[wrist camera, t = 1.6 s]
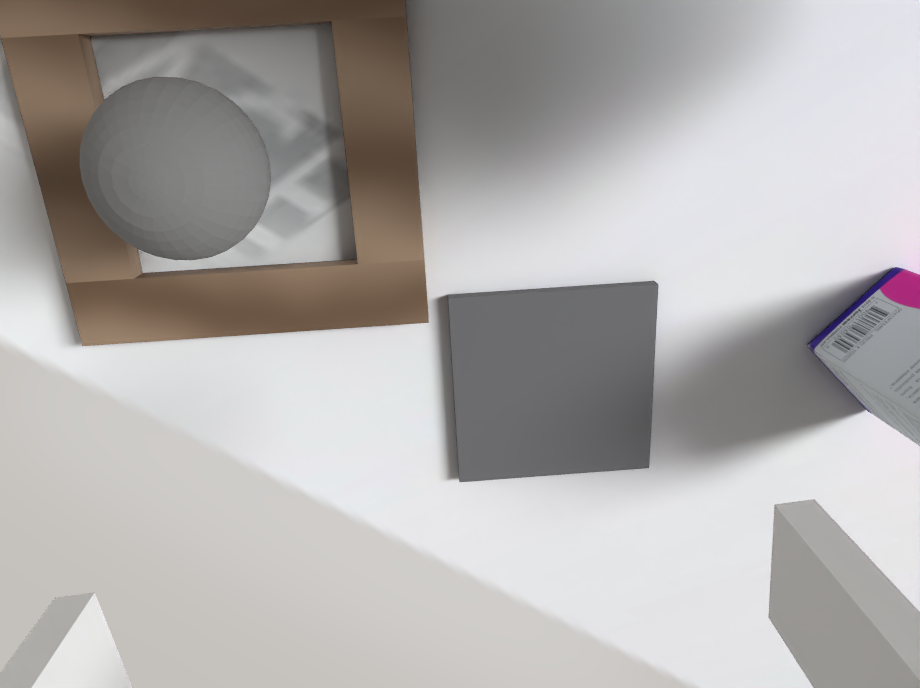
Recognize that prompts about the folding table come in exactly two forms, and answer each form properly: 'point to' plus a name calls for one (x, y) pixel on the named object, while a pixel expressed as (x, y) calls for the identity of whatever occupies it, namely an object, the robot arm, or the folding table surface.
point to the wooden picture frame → (237, 288)
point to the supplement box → (880, 351)
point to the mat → (553, 379)
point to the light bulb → (175, 168)
